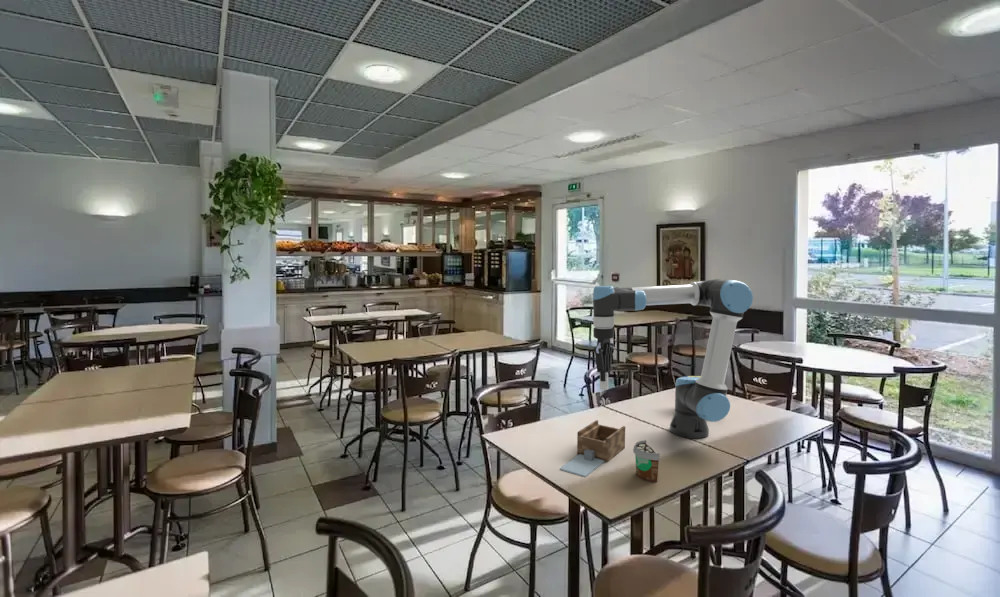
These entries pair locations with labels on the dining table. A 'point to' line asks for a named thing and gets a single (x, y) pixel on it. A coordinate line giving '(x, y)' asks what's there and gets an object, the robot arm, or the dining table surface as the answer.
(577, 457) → the cover plate
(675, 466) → the dining table surface
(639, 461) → the food container
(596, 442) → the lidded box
